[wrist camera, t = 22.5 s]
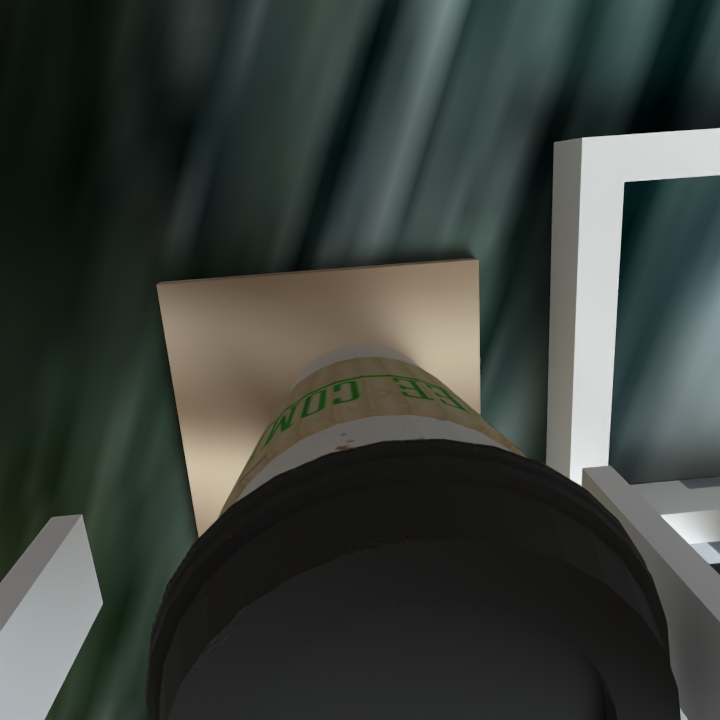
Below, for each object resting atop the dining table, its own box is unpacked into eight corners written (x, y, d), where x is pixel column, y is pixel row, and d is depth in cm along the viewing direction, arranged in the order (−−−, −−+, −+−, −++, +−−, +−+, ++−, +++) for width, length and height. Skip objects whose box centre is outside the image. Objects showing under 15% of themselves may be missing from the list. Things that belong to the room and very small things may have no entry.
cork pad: (160, 281, 23) (156, 284, 22) (474, 257, 23) (478, 259, 23) (205, 555, 26) (203, 564, 25) (478, 529, 27) (481, 537, 26)
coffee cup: (446, 262, 22) (673, 403, 8) (507, 484, 25) (755, 877, 11) (199, 343, 23) (-4, 620, 8) (287, 554, 26) (248, 1029, 11)
